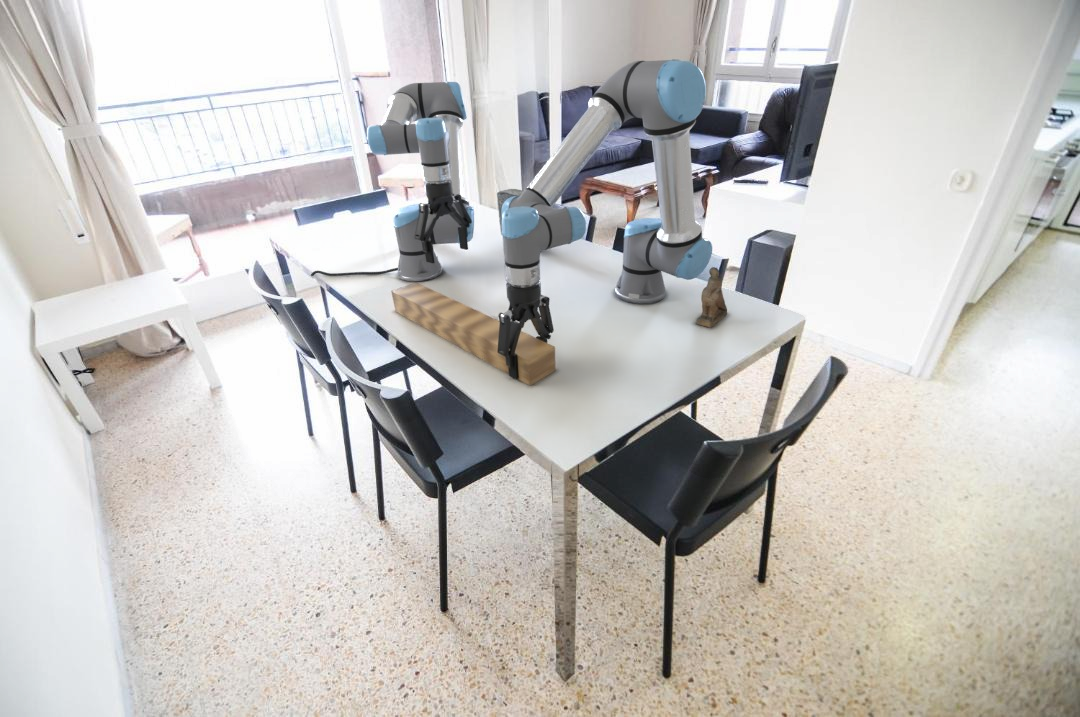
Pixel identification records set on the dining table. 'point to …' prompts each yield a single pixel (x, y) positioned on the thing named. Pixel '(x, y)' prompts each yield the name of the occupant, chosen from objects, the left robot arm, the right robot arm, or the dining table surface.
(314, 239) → the dining table surface
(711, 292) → the brown carved statuette
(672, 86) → the right robot arm
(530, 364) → the brown striped wooden beam
